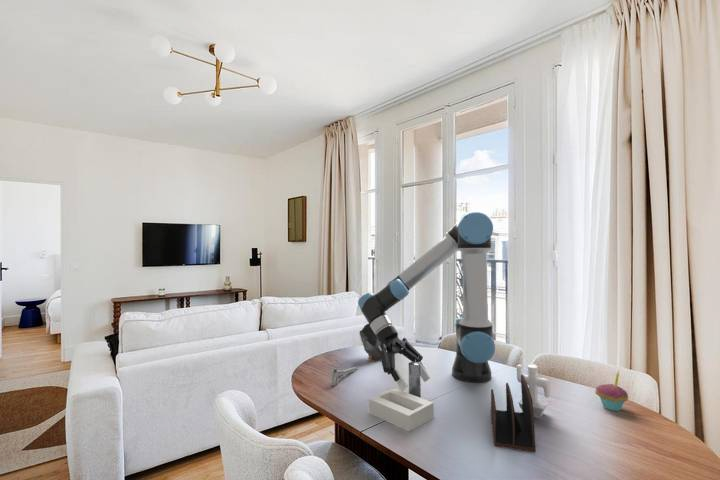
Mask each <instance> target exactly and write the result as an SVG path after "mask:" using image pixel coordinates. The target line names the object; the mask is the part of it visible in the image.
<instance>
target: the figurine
mask: <svg viewBox="0 0 720 480" xmlns="http://www.w3.org/2000/svg"><path fill="white" fill-rule="evenodd" d="M527 372H528V374H525V373H524V369H523V365H522V364H517V365H516V379H517V382H519V383H520V384H521V375H523V376H524V378H525V380H526V382H527V385H528V388H529V391H530V394H531V397H532V401H533V416H534V419H535V418H537V419H539V420H540V419H541V417H542V416H543V415H544V413H545V410H546V409H547V406H548V404H549V402H550V400H546V399H543V398H539V388H542V389H543V395H544V398H547V399H548V398H549V399H550V398H551V382H550V380H549V379H548V378H543V377H539V376H538V374H539V367H538V365H537V364H533V363H530V364H527ZM517 404H518V405H519V407H520V409H521V411H522V412H523V408H522V398H520V400H519V401H518V403H517Z"/></svg>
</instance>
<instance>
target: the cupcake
mask: <svg viewBox="0 0 720 480" xmlns="http://www.w3.org/2000/svg"><path fill="white" fill-rule="evenodd" d="M619 377H620V372H619V370H618V371H617V372H616V373H615V382H614V384H613V383H608V384H607V383H606V384H600V385H598V386H597V387H595V392H594V393H595V394H596V395H597V397H599V398H600V399H599V400H600V401H601V403H602V406H603V408H605V409H607V410H610V411H614V412H615V411H617V412H619V411H621V410H622V408H623V405H624V403H625V402H627V401H628V400H629V395H628V393H627V391H626V390H625V389H623V388H622V387H620V386H618V384H619Z"/></svg>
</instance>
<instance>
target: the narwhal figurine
mask: <svg viewBox="0 0 720 480" xmlns="http://www.w3.org/2000/svg"><path fill="white" fill-rule="evenodd" d="M390 321H391V323H392V322H393V320H390ZM376 336H377V335H375V333H374V332H373V330H372V328H371V326H370V325H369V323H367V324H365V325H364V326H363V327H362V328H361V330H359V337H360V340H361V342H362V345H363V350H364V352H365V353H366V354H368V356H367V360H368V361H369V362H373V361H374V362H375V361H377V360H381V357H380V353H379V351H378V349H377V347H378V346H379V345H380V342H379V341H378V339H377V337H376Z"/></svg>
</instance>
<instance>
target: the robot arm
mask: <svg viewBox="0 0 720 480" xmlns="http://www.w3.org/2000/svg"><path fill="white" fill-rule="evenodd" d="M493 232H494V224H493V221H492V219H491V217H489V216H488V215H487V214H486V213H484V212H481V211H476V210H475V211H469V212H466V213H465V214H464V215H462V216H461V217H460V218H459V219H458V220H457V222H456V223H455V224H454V225H453V226H452V227H451V228H450V229H449V230H448V231H447V232H445V236H444V237H443V238H442V239H441V240H440V241H438V242H437V243H436V244H435V245H434V246H432V247H431V248H429V249H428V250H427V251H426V252H424V254H422V255H421V256H420V257H418V259H416V260H415V261H414V262H413V263H411V264H410V265H409V266H408V267H407V268H406V269H405V270H403V271H402V272H401V273H399V274H398V275H397V276H396V277H395V278H393V279H392V280H390V281H389V282H387V284H386V286H385V287H383V288H382V289H381V290H380V291H378V292H376V293H373V292H367V293H366V294H363V295H361V296H360V298H358V300H357V304H358V307H359V309H360V310H361V313H362V315H363V316H364V317H365V320H366V321H367V324H369V325H370V326H371V328H372V330H373V332H374V333H375V335H377V336H376V337H377V339H378V341H379V343H380V345H379V346H378V347H377V349H378V351H379V353H380V357H381V361H380V362H381V365H382V369H383V372H384V374H386V373H387V375H391V377H392V378H393V380H394V381H395V382H396V384H397V386H398V387H399V390H401V391H403V392H404V391H405V390H406V389H407V388H409V385H408V384H407V383H406V381H405V379H404V378H403V376H402V374H401V372H400V371H399V369H398V368H396V362H395V361H396V359H395V355H396V354H399V355H403V356H404V357H405V358H407V359H408V360H409V361H410V362H418V363H420V378H421V379H422V381H423V382H424V383H426V382H427V381H428V380H430V378H431V377H430V375H429V373H428V371H427V369H426V367H425V366H424V365H423V363H422V360H423V359H424V356H423V355H422V354H421V353H420V352H419V351H417V349H416V348H414V347H413V345H412V344H411V343H409V341H408V340H407V338H406V337H403V338H402V339H401V338H399V333H398V331H397V329H396V328H395V326H393V323H392V322H391V321H392V320H390V318H389V316H388V315H387V313H386V312H387V311H389V309H391V308H392V307H394V306H395V305H397V304H398V303H399V302H401V301H403V300H404V299H405V298H406V297H407V296H408V295H409V294H410V290H411V289H412V288H413V287H416V285H418V283H420V282H421V281H423V279H425V278H426V277H427V276H429V275H431V273H432V272H434V271H435V270H436V269H437V268H438V267H440V266H441V265H442V264H444V263H445V262H446V261H448V259H450V258H451V257H452V256H454V254H456V253H457V252H461V254H462V255H461V257H462V258H461V260H462V265H461V266H462V315H463V317H457V318H456V319H455V326H454V327H455V351H456V352H455V357H454V362H453V364H452V367H451V374H452V376H453V377H454V378H455V379H458V380H460V381H463V382H471V383H482V382H487V381H489V380H491V379H492V370H491V367H490V364H489V361H490V360H491V359H492V358H493V356H494V355H495V352H496V344H495V340H494V338H493V337H494V335H493V323H492V322H491V320H489V317H488V316H489V315H488V314H489V313H488V312H489V311H488V258H487V257H488V256H487V255H488V252H489V251H491V249H492V235H493V234H494V233H493Z"/></svg>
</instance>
